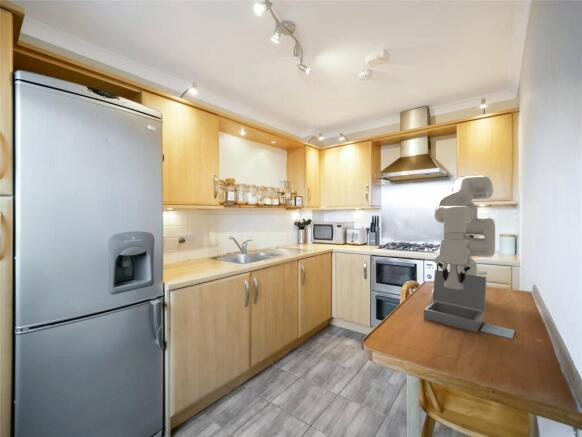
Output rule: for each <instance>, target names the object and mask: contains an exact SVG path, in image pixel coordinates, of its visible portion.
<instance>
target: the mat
mask: <svg viewBox="0 0 582 437" xmlns="http://www.w3.org/2000/svg"><path fill="white" fill-rule="evenodd" d="M515 331H516V330H515V329H510V328H507V327H502V326H498V325H494V324H490V323H484V324H483V325H482V327H481V329H480V332H483V333H487V334H490V335H494V336H498V337H501V338H506V339H508V340H513V339H514V335H515V333H516V332H515Z"/></svg>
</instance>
